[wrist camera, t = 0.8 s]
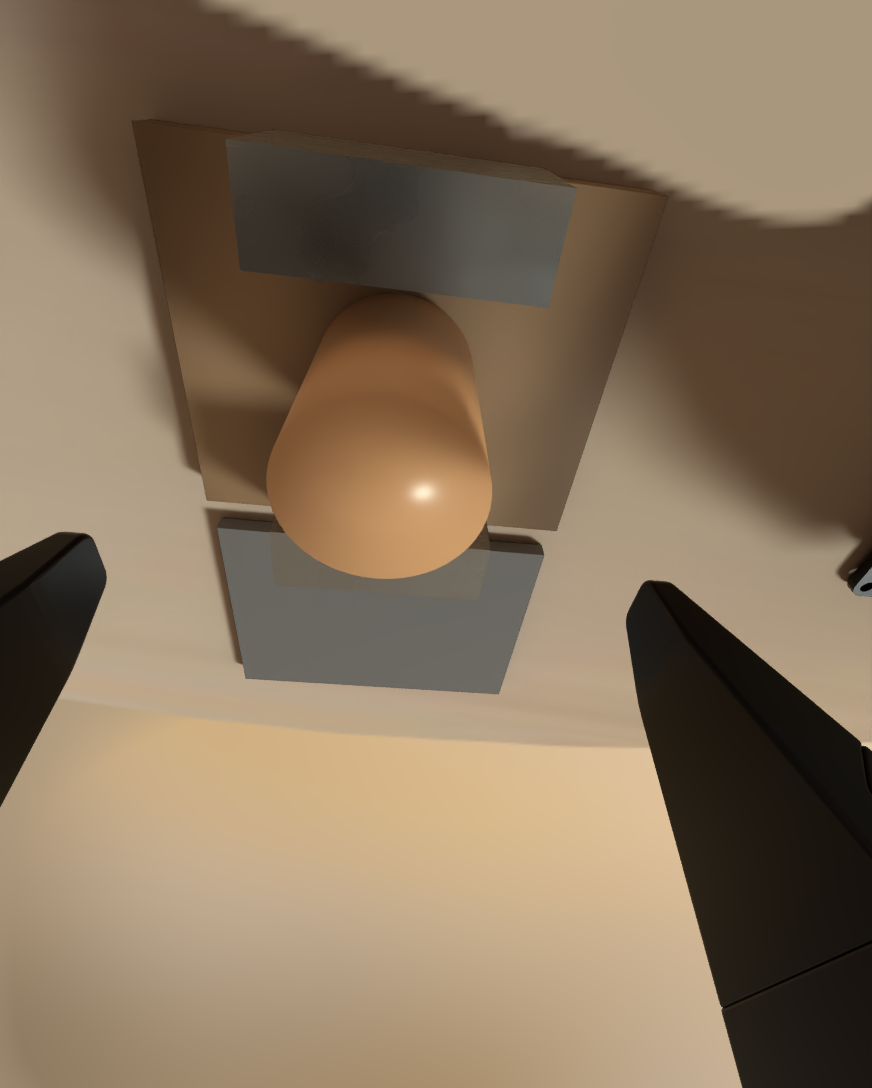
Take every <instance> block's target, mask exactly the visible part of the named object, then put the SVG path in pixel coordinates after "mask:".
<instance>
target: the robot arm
mask: <svg viewBox="0 0 872 1088" xmlns="http://www.w3.org/2000/svg"><path fill="white" fill-rule="evenodd" d="M106 578H107V576H106V570H105V568H104V565H103V563H102V560H101V557H100V555H99V552H98V550H97V547H96V545H95V542H94V540H93V538H92V537H91V536H90V535H88V534H85V533H75V532H58V533H56V534H54V535H52V536H50V537H48V538H46V539H44V540H42V541H40V542H38V543H36V544H34V545H32V546H30V547H28V548H25V549H23V550H21V551H19V552H17V553H15V554H13V555H11V556H9V557H7V558H5V559H3V560H1V561H0V807H1V805H2V803H3V801H4V799H5V797H6V795H7V793H8V791H9V790H10V788H11V786H12V784H13V782H14V780H15V778H16V776H17V775H18V773H19V771H20V769H21V767H22V765H23V763H24V761H25V759H26V758H27V756H28V754H29V752H30V750H31V748H32V746H33V744H34V742H35V740H36V739H37V737H38V735H39V733H40V731H41V729H42V727H43V725H44V723H45V722H46V720H47V718H48V716H49V714H50V712H51V710H52V708H53V706H54V705H55V702H56V701H57V699H58V697H59V695H60V693H61V691H62V689H63V687H64V686H65V684H66V682H67V680H68V678H69V676H70V674H71V672H72V670H73V667H74V665H75V663H76V660H77V658H78V656H79V653H80V650H81V648H82V645H83V643H84V640H85V638H86V635H87V632H88V630H89V627H90V625H91V622H92V619H93V617H94V614H95V612H96V609H97V606H98V604H99V601H100V599H101V596H102V594H103V591H104V588H105V585H106ZM847 586H848V587H849V588H850V589H851V591H852V592H853V593H854V594H855V595H858V596H866V597H872V553H871V554H870V556H869V557H868V558H867V559H866V560H865V562H864V563H863V564H862V565H861V566H860V567H859V569H858V570H857V571H856V572H855V573H854V574H853V576H852V577H851V578H850V579H849V581H848V583H847ZM626 628H627V634H628V641H629V647H630V654H631V660H632V667H633V673H634V680H635V687H636V693H637V698H638V704H639V708H640V712H641V717H642V720H643V724H644V728H645V731H646V735H647V739H648V742H649V746H650V750H651V753H652V757H653V761H654V764H655V768H656V771H657V775H658V779H659V782H660V786H661V790H662V794H663V797H664V801H665V805H666V808H667V812H668V816H669V819H670V823H671V827H672V830H673V833H674V838H675V841H676V845H677V848H678V852H679V856H680V860H681V863H682V867H683V871H684V874H685V878H686V882H687V885H688V889H689V893H690V896H691V900H692V903H693V907H694V911H695V914H696V918H697V922H698V925H699V929H700V933H701V936H702V940H703V944H704V947H705V951H706V954H707V958H708V962H709V965H710V969H711V973H712V977H713V980H714V984H715V987H716V991H717V995H718V999H719V1002H720V1005H721V1007H723V1008H722V1015H723V1018H724V1022H725V1025H726V1029H727V1033H728V1037H729V1040H730V1044H731V1048H732V1051H733V1055H734V1059H735V1062H736V1066H737V1070H738V1073H739V1077H740V1080H741V1084H742V1088H872V751H871V750H870V749H869V748H868V747H866V746H862V745H861V742H860V741H859V740H858V739H857V738H855V737H854V736H853V735H852V734H851V733H850V732H848V731H847V730H846V729H845V728H844V727H842V726H841V725H840V724H839V723H838V722H836V721H835V720H834V719H833V718H832V717H830V716H829V715H828V714H827V713H826V712H825V711H823V710H822V709H821V708H820V707H819V706H817V705H816V704H815V703H814V702H813V701H811V700H810V699H809V698H808V697H807V696H805V695H804V694H803V693H802V692H801V691H800V690H798V689H797V688H796V687H795V686H794V685H792V684H791V683H790V682H789V681H788V680H786V679H785V678H784V677H783V676H782V675H781V674H779V673H778V672H777V671H776V670H775V669H773V668H772V667H771V666H770V665H769V664H767V663H766V662H765V661H764V660H763V659H761V658H760V657H759V656H758V655H757V654H756V653H754V652H753V651H752V650H751V649H750V648H748V647H747V646H746V645H745V644H744V643H742V642H741V641H740V640H739V639H738V638H736V637H735V636H734V635H733V634H732V633H731V632H729V631H728V630H727V629H726V628H725V627H723V626H722V625H721V624H720V623H719V622H717V621H716V620H715V619H714V618H713V617H712V616H710V615H709V614H708V613H707V612H706V611H704V610H703V609H702V608H701V607H700V606H698V605H697V604H696V603H695V602H694V601H692V600H691V599H690V598H689V597H688V596H687V595H685V594H684V593H683V592H682V591H681V590H679V589H678V588H677V587H676V586H675V585H673V584H672V583H670V582H666V581H654V580H648V581H645V582H644V583H643V584H642V586H641V587H640V589H639V591H638V593H637V595H636V597H635V599H634V601H633V603H632V605H631V607H630V609H629V611H628V613H627V618H626Z"/></svg>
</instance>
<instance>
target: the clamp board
mask: <svg viewBox="0 0 872 1088" xmlns="http://www.w3.org/2000/svg"><path fill="white" fill-rule="evenodd" d="M132 125H133V130H134V135H135V140H136V145H137V150H138V155H139V160H140V165H141V170H142V175H143V181H144V186H145V191H146V196H147V201H148V206H149V211H150V216H151V221H152V226H153V231H154V236H155V241H156V246H157V251H158V256H159V262H160V267H161V272H162V277H163V282H164V287H165V292H166V297H167V302H168V307H169V312H170V317H171V322H172V327H173V332H174V337H175V343H176V348H177V353H178V358H179V363H180V368H181V373H182V378H183V383H184V388H185V393H186V398H187V403H188V408H189V413H190V418H191V424H192V429H193V434H194V439H195V444H196V449H197V454H198V459H199V464H200V469H201V474H202V479H203V484H204V489H205V494H206V499H207V501H219V502H230V503H241V504H253V505H264V506H271V505H270V502H269V498H268V493H267V483H266V474H267V467H268V461H269V458H270V455H271V452H272V449H273V447H274V445H275V443H276V440H277V438H278V436H279V434H280V432H281V429H282V427H283V425H284V423H285V421H286V418H287V416H288V414H289V412H290V409H291V407H292V405H293V403H294V401H295V398H296V396H297V394H298V392H299V390H300V387H301V385H302V383H303V381H304V378H305V376H306V374H307V372H308V370H309V367H310V365H311V363H312V361H313V358H314V356H315V354H316V352H317V350H318V347H319V345H320V343H321V341H322V339H323V336H324V334H325V332H326V330H327V328H328V327H329V326H330V324H331V323H332V321H333V320H334V319H335V318H336V317H337V316H338V315H339V314H340V313H341V312H342V311H343V310H344V309H346V308H347V307H348V306H350V305H351V304H353V303H355V302H357V301H358V300H361V299H363V298H366V297H368V296H373V295H377V294H384V293H401V294H407V295H412V296H415V297H418V298H421V299H424V300H426V301H428V302H430V303H432V304H434V305H435V306H437V307H438V308H440V309H441V310H443V311H444V312H445V313H446V314H447V315H448V316H449V317H450V318H451V319H452V320H453V321H454V322H455V323H456V324H457V326H458V327H459V328H460V330H461V332H462V333H463V335H464V337H465V339H466V341H467V343H468V345H469V348H470V352H471V355H472V361H473V367H474V373H475V379H476V386H477V392H478V399H479V405H480V411H481V418H482V424H483V430H484V437H485V443H486V449H487V456H488V462H489V468H490V475H491V481H492V501H491V508H490V511H489V515H488V518H487V520H486V521H487V525H493V526H504V527H516V528H527V529H539V530H550V531H557V528H558V525H559V522H560V519H561V516H562V513H563V510H564V507H565V504H566V501H567V498H568V495H569V492H570V489H571V486H572V483H573V480H574V477H575V474H576V471H577V468H578V465H579V462H580V459H581V456H582V453H583V450H584V447H585V444H586V441H587V439H588V436H589V433H590V430H591V427H592V424H593V421H594V418H595V415H596V412H597V409H598V406H599V403H600V400H601V397H602V394H603V391H604V388H605V385H606V382H607V379H608V376H609V373H610V370H611V367H612V364H613V361H614V358H615V355H616V352H617V349H618V346H619V343H620V340H621V337H622V334H623V331H624V328H625V325H626V322H627V319H628V316H629V313H630V310H631V307H632V304H633V301H634V298H635V295H636V292H637V289H638V286H639V283H640V280H641V277H642V274H643V271H644V268H645V265H646V262H647V259H648V256H649V253H650V250H651V247H652V244H653V241H654V238H655V235H656V232H657V229H658V226H659V223H660V220H661V217H662V214H663V211H664V208H665V205H666V202H667V199H668V196H666V195H663V194H661V193H658V192H656V191H652V190H645V189H638V188H630V187H623V186H616V185H609V184H602V183H595V182H588V181H581V180H574V179H567V178H561V179H563V180H564V181H566V182H567V183H569V184H571V185H572V186H574V187H576V188H577V191H576V195H575V199H574V203H573V207H572V211H571V216H570V220H569V224H568V228H567V232H566V237H565V241H564V245H563V249H562V253H561V257H560V262H559V266H558V270H557V274H556V278H555V282H554V287H553V291H552V295H551V299H550V303H549V308H545V307H537V306H529V305H520V304H512V303H504V302H496V301H487V300H479V299H471V298H463V297H455V296H446V295H438V294H430V293H422V292H413V291H405V290H397V289H389V288H381V287H372V286H364V285H356V284H348V283H339V282H331V281H323V280H315V279H307V278H298V277H290V276H282V275H274V274H265V273H257V272H249V271H241V270H240V266H239V257H238V248H237V239H236V230H235V221H234V212H233V203H232V194H231V185H230V176H229V166H228V157H227V148H226V139H228V138H233V137H238V136H243V135H248V134H250V133H243V132H236V131H228V130H221V129H214V128H207V127H200V126H193V125H186V124H179V123H172V122H165V121H158V120H151V119H150V120H137V121H132ZM559 178H560V177H559Z"/></svg>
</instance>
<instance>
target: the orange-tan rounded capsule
mask: <svg viewBox="0 0 872 1088" xmlns="http://www.w3.org/2000/svg"><path fill="white" fill-rule="evenodd" d="M266 483H267V493H268V498H269V502H270V505H271V508H272V510H273V513H274V515H275V517H276V519H277V521H278V523H279V524H280V525H281V527H282V528H283V530H284V531H285V533H286V534H287V535H288V536H289V537H290V538H291V539H292V541H293V542H294V543H295V544H296V545H298V546H299V547H300V548H301V549H302V550H303V551H304V552H306V553H307V554H309V555H310V556H312V557H313V558H314V559H316V560H318V561H320V562H322V563H323V564H325V565H327V566H330V567H332V568H334V569H336V570H339V571H342V572H345V573H348V574H352V575H356V576H361V577H368V578H375V579H395V578H405V577H411V576H416V575H420V574H424V573H427V572H430V571H432V570H435V569H437V568H439V567H441V566H443V565H445V564H447V563H449V562H450V561H452V560H453V559H455V558H456V557H458V556H459V555H460V554H462V553H463V552H464V551H465V550H466V549H467V548H468V547H469V546H470V545H471V544H472V543H473V542H474V541H475V539H476V538H477V536H478V535H479V534H480V532H481V531H482V529H483V527H484V525H485V522H486V520H487V518H488V515H489V511H490V508H491V501H492V481H491V475H490V468H489V462H488V456H487V449H486V443H485V437H484V430H483V424H482V418H481V411H480V405H479V399H478V392H477V386H476V379H475V373H474V367H473V361H472V355H471V352H470V348H469V345H468V343H467V341H466V339H465V337H464V335H463V333H462V332H461V330H460V328H459V327H458V326H457V324H456V323H455V322H454V321H453V320H452V319H451V318H450V317H449V316H448V315H447V314H446V313H445V312H444V311H443V310H441V309H440V308H438V307H437V306H435V305H434V304H432V303H430V302H428V301H426V300H424V299H421V298H418V297H415V296H412V295H407V294H401V293H384V294H377V295H373V296H368V297H366V298H363V299H361V300H358V301H357V302H355V303H353V304H351V305H350V306H348V307H347V308H346V309H344V310H343V311H342V312H341V313H340V314H339V315H338V316H337V317H336V318H335V319H334V320H333V321H332V323H331V324H330V326H329V327H328V328H327V330H326V332H325V334H324V336H323V339H322V341H321V343H320V345H319V347H318V350H317V352H316V354H315V356H314V358H313V361H312V363H311V365H310V367H309V370H308V372H307V374H306V376H305V378H304V381H303V383H302V385H301V387H300V390H299V392H298V394H297V396H296V398H295V401H294V403H293V405H292V407H291V409H290V412H289V414H288V416H287V418H286V421H285V423H284V425H283V427H282V429H281V432H280V434H279V436H278V438H277V440H276V443H275V445H274V447H273V449H272V452H271V455H270V458H269V461H268V467H267V474H266Z"/></svg>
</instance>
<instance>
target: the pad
mask: <svg viewBox="0 0 872 1088" xmlns="http://www.w3.org/2000/svg"><path fill="white" fill-rule="evenodd" d="M271 525H272V522H264V521H253V520H241V519H229V518H222V519H221V521H220V523H219V525H218V527H217V530H218V536H219V541H220V546H221V551H222V557H223V562H224V567H225V573H226V578H227V583H228V588H229V594H230V599H231V604H232V609H233V615H234V620H235V625H236V630H237V636H238V641H239V646H240V651H241V657H242V662H243V667H244V673H245V678H246V679H261V680H277V681H293V682H309V683H325V684H341V685H357V686H374V687H390V688H406V689H422V690H438V691H454V692H470V693H487V694H499V692H500V689H501V686H502V683H503V680H504V677H505V674H506V671H507V667H508V664H509V661H510V658H511V655H512V652H513V649H514V646H515V643H516V640H517V637H518V634H519V631H520V628H521V625H522V622H523V619H524V616H525V613H526V610H527V606H528V603H529V600H530V597H531V594H532V591H533V588H534V585H535V582H536V579H537V576H538V573H539V570H540V567H541V564H542V561H543V558H544V552H543V548H542V545H534V544H523V543H511V542H499V541H489V543H490V554H489V558H488V562H487V567H486V571H485V575H484V579H483V583H482V588H481V592H480V596H479V600H478V601H477V600H464V599H451V598H438V597H425V596H411V595H398V594H385V593H372V592H359V591H346V590H332V589H319V588H306V587H293V586H280V585H275V582H274V573H273V564H272V555H271V546H270V537H269V530H270V528H271Z"/></svg>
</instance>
